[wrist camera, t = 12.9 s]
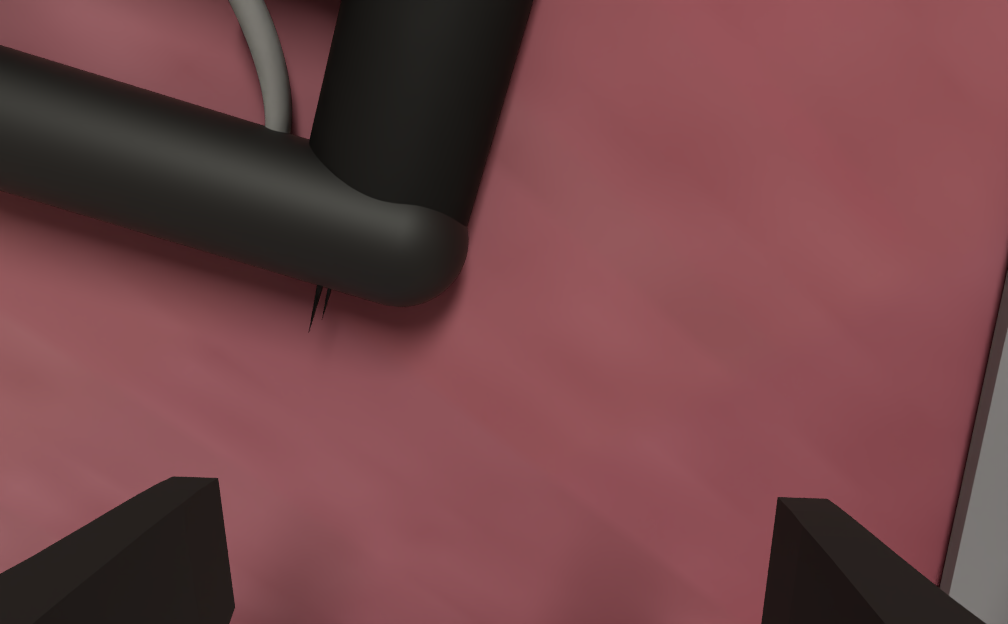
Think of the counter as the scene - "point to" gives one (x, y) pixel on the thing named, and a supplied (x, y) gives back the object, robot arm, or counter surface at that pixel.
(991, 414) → the mat
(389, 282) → the door handle
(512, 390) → the counter surface
